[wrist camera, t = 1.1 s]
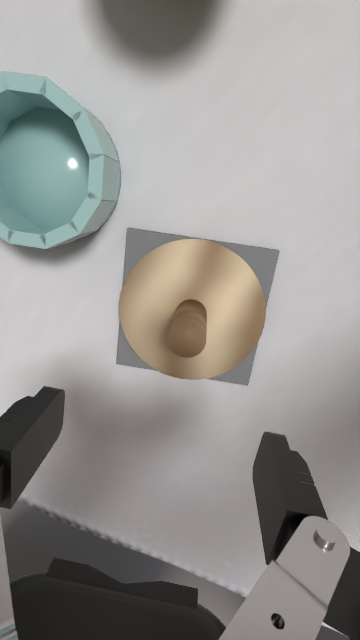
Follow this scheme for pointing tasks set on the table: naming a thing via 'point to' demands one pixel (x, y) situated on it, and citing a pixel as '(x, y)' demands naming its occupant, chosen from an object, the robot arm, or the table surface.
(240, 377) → the mat
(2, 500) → the robot arm
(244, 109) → the table surface
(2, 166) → the bowl
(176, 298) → the lid
